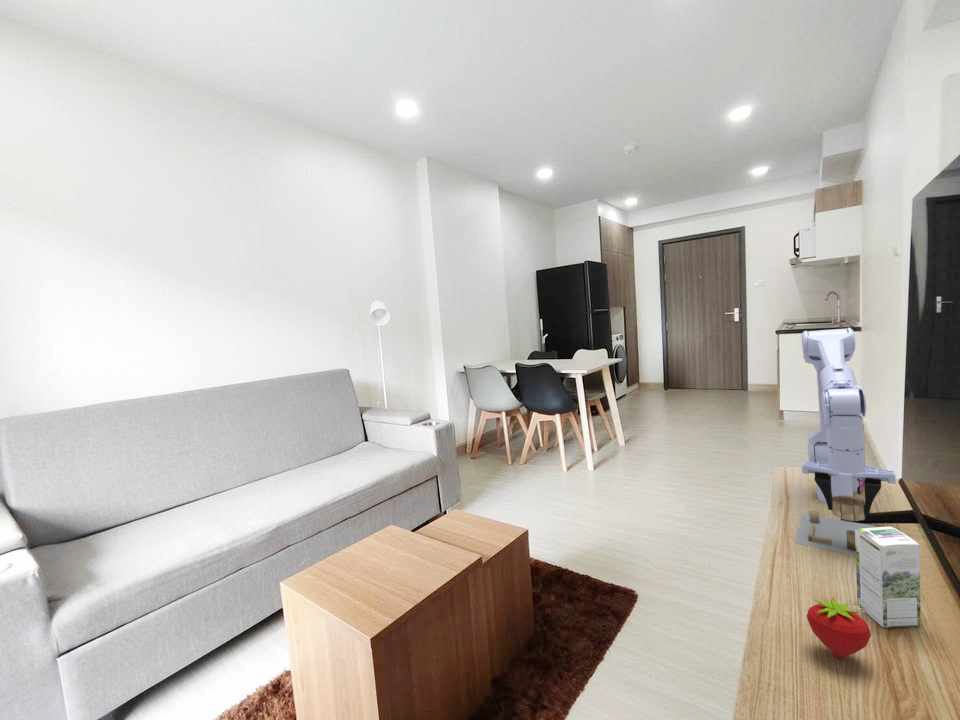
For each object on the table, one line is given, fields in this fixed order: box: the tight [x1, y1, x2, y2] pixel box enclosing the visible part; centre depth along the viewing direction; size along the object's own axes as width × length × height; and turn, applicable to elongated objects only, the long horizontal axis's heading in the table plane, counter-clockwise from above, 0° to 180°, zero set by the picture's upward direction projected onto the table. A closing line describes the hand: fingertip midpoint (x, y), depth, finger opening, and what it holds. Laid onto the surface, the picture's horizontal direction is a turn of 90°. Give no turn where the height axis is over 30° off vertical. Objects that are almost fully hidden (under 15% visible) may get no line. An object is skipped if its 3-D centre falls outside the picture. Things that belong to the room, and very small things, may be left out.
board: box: [794, 510, 876, 556], centre depth 97 cm, size 15×13×3 cm
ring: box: [831, 495, 866, 522], centre depth 91 cm, size 5×5×3 cm
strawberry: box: [806, 597, 872, 659], centre depth 67 cm, size 6×8×10 cm
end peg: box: [846, 530, 856, 551], centre depth 91 cm, size 2×2×4 cm
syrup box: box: [855, 526, 922, 629], centre depth 73 cm, size 6×6×14 cm
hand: (848, 510), depth 91 cm, fingers closed on ring, 5 cm apart
